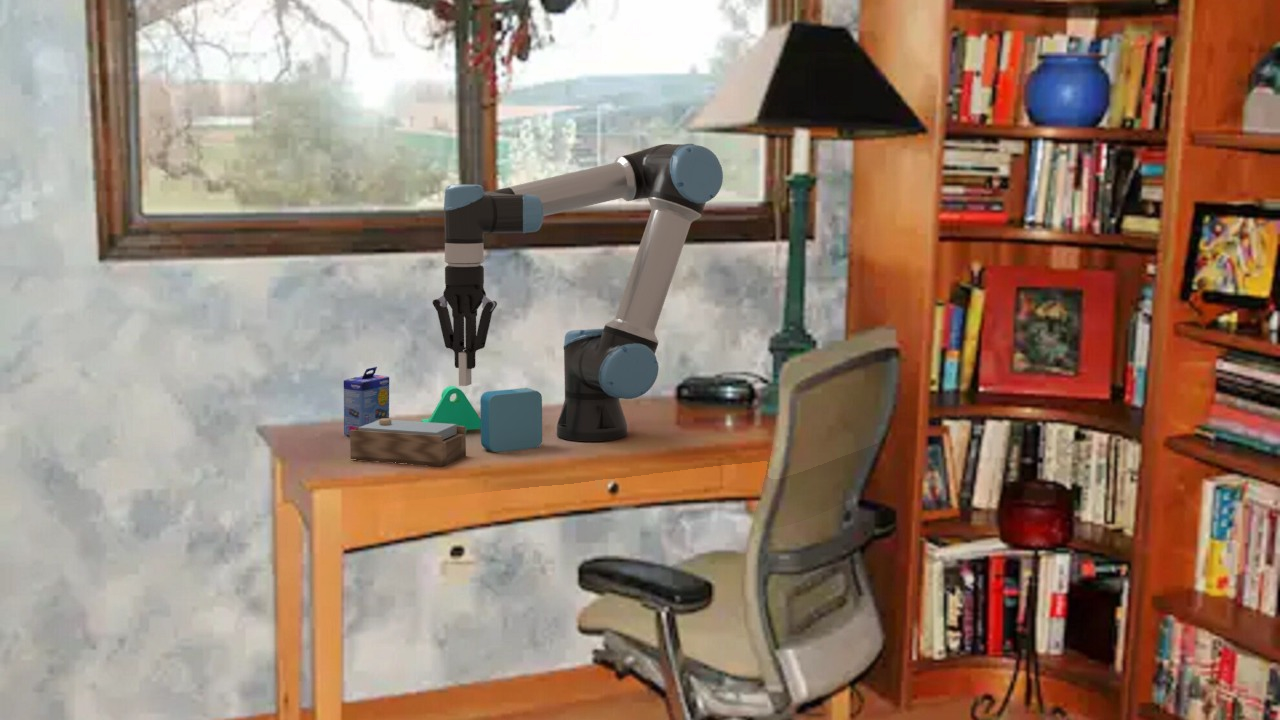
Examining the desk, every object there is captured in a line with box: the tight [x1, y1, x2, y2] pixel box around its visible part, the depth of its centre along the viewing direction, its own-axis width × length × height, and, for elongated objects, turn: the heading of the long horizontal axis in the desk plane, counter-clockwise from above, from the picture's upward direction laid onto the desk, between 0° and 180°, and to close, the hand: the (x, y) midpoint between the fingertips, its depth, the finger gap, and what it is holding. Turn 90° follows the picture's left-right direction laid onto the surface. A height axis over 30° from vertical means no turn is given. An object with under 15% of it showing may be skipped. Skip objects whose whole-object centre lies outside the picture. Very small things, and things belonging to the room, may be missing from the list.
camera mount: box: [420, 385, 481, 432], centre depth 334 cm, size 12×8×10 cm, turn 111°
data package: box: [479, 387, 543, 454], centre depth 316 cm, size 12×4×12 cm, turn 121°
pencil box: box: [349, 420, 467, 468], centre depth 307 cm, size 20×11×6 cm, turn 72°
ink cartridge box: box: [343, 366, 390, 437], centre depth 331 cm, size 10×6×14 cm, turn 152°
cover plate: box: [359, 417, 457, 440], centre depth 307 cm, size 17×9×3 cm, turn 72°
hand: (465, 384), depth 301 cm, fingers closed
